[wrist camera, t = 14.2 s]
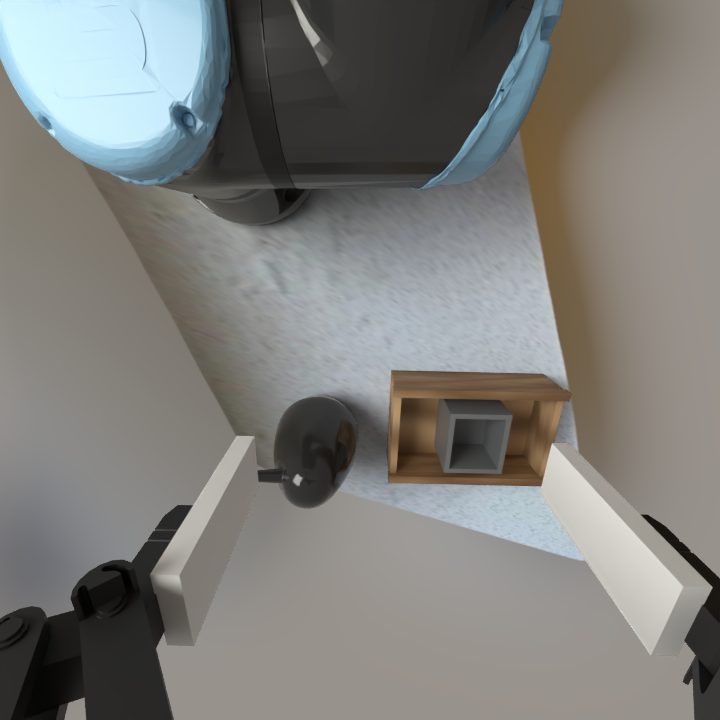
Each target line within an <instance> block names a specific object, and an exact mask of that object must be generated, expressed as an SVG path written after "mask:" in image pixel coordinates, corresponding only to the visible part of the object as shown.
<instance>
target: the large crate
mask: <svg viewBox="0 0 720 720" xmlns="http://www.w3.org/2000/svg"><path fill="white" fill-rule="evenodd" d="M570 397H571V393H570V392H569V391H567V390H563V389H562V388H561V387H559V386H558V385H557V384H555V383H554V382H553V381H551V380H550V379H549V378H548V377H546V376H545V375H544V374H524V373H481V372H438V371H394V370H391V386H390V404H389V421H388V439H387V461H388V469H389V471H388V483H419V484H464V485H508V486H542V482H543V478H544V474H545V469H546V465H547V461H548V457H549V453H550V449H551V445H552V443H554V441H555V437H556V433H557V429H558V425H559V421H560V416H561V412H562V408H563V404H564V401H570ZM439 399H483V400H500V401H501V402H502V403H503V404H504V405H505V407H506V408H507V409H508V410H509V411H510V413H511V414H512V415H513V417H512V422H511V427H510V432H509V438H508V443H507V448H506V453H505V459H504V464H503V469H502V474H482V473H444V472H443V469H442V466H441V463H440V460H439V457H438V455H437V452H436V449H435V446H434V441H435V431H436V422H437V413H438V403H439Z"/></svg>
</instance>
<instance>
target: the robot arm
mask: <svg viewBox="0 0 720 720" xmlns="http://www.w3.org/2000/svg"><path fill="white" fill-rule="evenodd" d="M563 2H564V0H0V58H1V61H2V63H3V65H4V68H5V69H6V72H7V74H8V76H9V78H10V80H11V82H12V84H13V86H14V88H15V89H16V91H17V93H18V94H19V96H20V98H21V99H22V101H23V103H24V104H25V105H26V107H27V108H28V110H29V111H30V112H31V114H32V115H33V116H34V118H35V119H36V120H37V121H38V123H39V124H40V125H41V126H42V127H43V128H44V129H46V130H48V132H49V133H50V134H51V136H53V137H54V138H56V139H57V140H58V141H59V142H60V144H61V145H62V146H63V147H64V148H65V149H67V150H68V151H69V152H70V153H72V154H73V155H75V156H76V157H78V158H79V159H81V160H83V161H85V162H86V163H88V164H90V165H92V166H94V167H97V168H99V169H101V170H104V171H107V172H110V173H112V174H113V175H114V176H117V177H120V178H121V179H122V180H124V181H127V182H134V183H136V184H138V185H146V186H153V185H155V186H160V187H164V188H168V189H172V190H176V191H181V192H185V193H189V194H191V195H192V196H193V197H194V198H195V199H196V200H197V201H198V202H199V203H200V204H201V205H202V206H204V207H205V208H206V209H207V210H209V211H211V212H212V213H214V214H216V215H217V216H219V217H221V218H223V219H226V220H229V221H232V222H235V223H240V224H248V225H265V224H270V223H274V222H277V221H280V220H282V219H284V218H286V217H287V216H289V215H291V214H292V213H293V212H295V211H296V210H297V209H298V208H299V207H300V206H301V205H302V204H303V203H304V202H305V200H306V199H307V198H308V196H309V194H310V193H311V191H312V189H327V188H410V189H413V190H421V189H427V188H430V187H432V186H438V185H453V184H463V183H467V182H469V181H472V180H474V179H476V178H478V177H480V176H481V175H483V174H484V173H485V172H486V171H488V170H489V169H490V168H491V167H492V166H493V165H494V164H495V163H496V162H497V161H498V160H499V158H500V157H501V156H502V155H503V153H504V152H505V151H506V149H507V148H508V147H509V145H510V144H511V142H512V140H513V139H514V137H515V135H516V134H517V132H518V130H519V129H520V127H521V125H522V123H523V121H524V119H525V117H526V115H527V113H528V111H529V109H530V107H531V104H532V102H533V100H534V98H535V96H536V94H537V91H538V89H539V86H540V84H541V81H542V79H543V76H544V73H545V70H546V67H547V64H548V61H549V58H550V54H551V51H552V46H551V45H550V43H549V37H550V34H551V33H552V31H553V28H554V27H555V25H556V24H557V22H558V20H559V18H560V16H561V13H562V7H563ZM258 489H259V482H258V471H257V460H256V450H255V439H254V436H236V438H235V440H234V441H233V443H232V444H231V446H230V448H229V449H228V451H227V453H226V454H225V456H224V457H223V459H222V460H221V462H220V464H219V465H218V467H217V468H216V470H215V472H214V473H213V475H212V476H211V478H210V480H209V481H208V483H207V484H206V486H205V488H204V489H203V491H202V492H201V494H200V496H199V497H198V499H197V500H196V502H195V504H194V505H177V506H176V507H175V508H174V509H172V510H171V511H170V512H169V513H167V514H166V515H165V516H164V517H163V518H162V520H161V521H160V523H159V524H158V526H157V527H156V528H155V531H153V533H152V534H151V535H150V537H149V538H148V541H147V542H146V543H145V544H144V545H143V547H142V548H141V550H140V551H139V552H138V554H137V555H136V557H135V558H134V560H133V561H132V563H131V562H128V561H125V560H113V561H110V562H107V563H104V564H101V565H99V566H97V567H96V568H94V569H92V570H91V571H89V572H88V573H87V574H86V575H85V576H84V577H82V578H81V579H80V580H79V582H78V583H77V585H76V586H75V587H74V589H73V591H72V595H71V601H72V604H73V607H74V609H75V610H73V611H70V612H66V613H63V614H59V615H55V616H51V617H48V618H47V617H46V614H45V612H44V611H43V610H42V609H41V608H39V607H33V606H31V607H26V608H22V609H19V610H16V611H14V612H12V613H9V614H7V615H5V616H4V617H2V618H1V619H0V720H64V718H65V714H66V710H67V706H68V703H69V702H72V701H75V700H78V699H81V698H84V697H85V708H86V720H174V718H173V715H172V711H171V707H170V703H169V698H168V694H167V691H166V686H165V683H164V679H163V674H162V671H161V667H160V663H159V659H158V655H157V651H156V647H157V645H158V643H159V641H160V639H161V637H162V635H163V633H164V634H165V638H166V642H167V645H180V646H181V645H182V646H194V645H195V642H196V640H197V637H198V635H199V632H200V630H201V628H202V625H203V623H204V620H205V618H206V615H207V613H208V611H209V608H210V606H211V603H212V600H213V598H214V596H215V593H216V591H217V589H218V586H219V584H220V581H221V579H222V576H223V574H224V571H225V569H226V566H227V564H228V562H229V559H230V557H231V554H232V552H233V550H234V547H235V545H236V542H237V540H238V537H239V535H240V532H241V530H242V528H243V525H244V523H245V520H246V518H247V515H248V513H249V511H250V508H251V506H252V503H253V501H254V498H255V496H256V493H257V491H258ZM540 495H541V496H542V498H543V499H544V501H545V502H546V504H547V505H548V507H549V508H550V510H551V511H552V512H553V514H554V515H555V517H556V518H557V520H558V521H559V523H560V524H561V526H562V527H563V528H564V530H565V531H566V533H567V534H568V536H569V537H570V539H571V540H572V542H573V543H574V544H575V546H576V547H577V549H578V550H579V552H580V553H581V555H582V556H583V558H584V559H585V560H586V562H587V563H588V565H589V566H590V568H591V569H592V571H593V572H594V573H595V575H596V576H597V578H598V579H599V581H600V582H601V584H602V585H603V587H604V588H605V590H606V591H607V592H608V594H609V595H610V597H611V598H612V600H613V601H614V602H615V604H616V606H617V607H618V608H619V610H620V611H621V613H622V614H623V616H624V617H625V619H626V620H627V622H628V623H629V624H630V626H631V627H632V629H633V630H634V632H635V633H636V634H637V636H638V638H639V639H640V640H641V642H642V643H643V645H644V646H645V647H646V649H647V651H648V652H649V654H650V655H651V656H678V654H679V652H680V650H681V648H682V646H683V645H684V643H685V642H686V643H687V645H688V646H689V647H690V648H691V650H692V651H693V652H694V653H695V655H696V656H695V658H694V660H693V661H692V663H691V665H690V667H689V669H688V671H687V673H686V674H685V677H684V680H683V682H684V683H685V684H687V685H688V684H689V682H690V680H691V679H693V696H694V718H695V720H720V578H719V577H718V576H717V575H716V574H715V573H714V572H712V571H711V570H710V569H709V568H708V567H707V566H706V565H705V564H704V563H703V562H702V561H701V560H700V559H699V558H698V557H697V556H696V555H694V554H693V553H691V552H690V550H689V549H688V548H687V547H686V546H685V545H684V544H683V543H682V542H680V541H679V539H678V538H677V537H676V536H675V535H674V534H673V533H672V532H671V531H670V530H669V529H668V528H667V527H666V526H664V525H663V524H661V523H660V522H658V521H656V520H655V519H653V518H652V517H650V516H649V515H640V514H639V513H638V512H637V511H636V510H635V509H634V508H633V507H632V506H631V505H630V504H629V503H628V502H627V501H626V500H625V499H624V498H623V497H622V496H621V495H620V494H619V493H618V492H617V491H616V490H615V489H614V488H613V487H612V486H611V485H610V484H609V483H608V482H607V481H606V480H605V479H604V478H603V477H602V476H601V475H600V474H599V473H598V472H597V471H596V470H595V469H594V468H593V467H592V466H591V465H590V464H589V463H588V462H587V461H586V460H585V459H584V458H583V457H582V456H581V455H580V454H579V453H578V452H577V451H576V450H575V449H574V448H573V447H572V446H571V445H570V444H569V443H552V445H551V449H550V453H549V457H548V461H547V465H546V469H545V474H544V478H543V482H542V486H541V490H540Z"/></svg>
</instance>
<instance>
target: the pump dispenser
mask: <svg viewBox="0 0 720 720" xmlns="http://www.w3.org/2000/svg"><path fill="white" fill-rule="evenodd" d="M358 442H359V429H358V424H357V422H356V419H355V417H354V416H353V414H352V413H351V412H350V411H349V409H347V408H346V407H345V406H344V405H343V404H342V403H341V402H339V401H338V400H336V399H334V398H331V397H327V396H311V397H307V398H305V399H302V400H299V401H297V402H295V403H294V404H292V405H291V406H290V407H289V408H288V409H287V410H286V411H285V412H284V414H283V415H282V417H281V419H280V422H279V424H278V427H277V431H276V436H275V442H274V466H275V469H268V470H257V471H258V482H267V483H278V484H279V487H280V489H281V491H282V493H283V495H284V496H285V498H286V499H287V500H288V501H289V502H290V503H291V504H293V505H294V506H296V507H299V508H303V509H311V508H315V507H318V506H320V505H322V504H324V503H325V502H326V501H328V500H329V499H330V498H331V497H332V496H333V495H334V494H335V493H336V492H337V490H338V489H339V488H340V486H341V485H342V484H343V482H344V481H345V479H346V477H347V475H348V474H349V472H350V470H351V467H352V465H353V462H354V459H355V456H356V452H357V448H358Z"/></svg>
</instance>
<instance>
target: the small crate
mask: <svg viewBox="0 0 720 720" xmlns="http://www.w3.org/2000/svg"><path fill="white" fill-rule="evenodd" d="M512 417H513V415H512V414H511V413H510V411H509V410H508V409H507V408H506V407H505V405H504V404H503V403H502V402H501V401H500V400H483V399H439V403H438V413H437V422H436V431H435V441H434V446H435V449H436V452H437V455H438V457H439V460H440V463H441V466H442V469H443V472H444V473H482V474H502V469H503V464H504V459H505V453H506V448H507V443H508V438H509V432H510V427H511V422H512Z"/></svg>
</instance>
